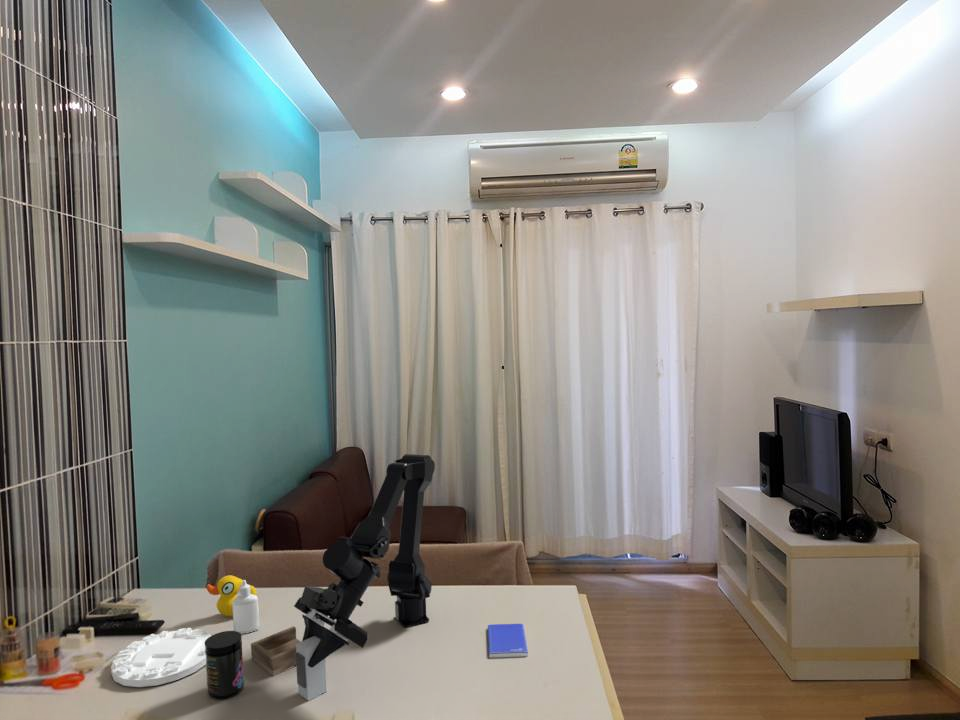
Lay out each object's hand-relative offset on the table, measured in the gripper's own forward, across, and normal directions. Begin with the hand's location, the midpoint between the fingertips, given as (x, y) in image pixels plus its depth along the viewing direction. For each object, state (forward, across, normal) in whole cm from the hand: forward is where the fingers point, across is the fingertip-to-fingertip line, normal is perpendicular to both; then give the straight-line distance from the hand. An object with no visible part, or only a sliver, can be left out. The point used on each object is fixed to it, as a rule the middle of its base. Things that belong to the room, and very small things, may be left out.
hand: (304, 662), depth 120 cm
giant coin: (+15, -34, -5) cm, 38 cm away
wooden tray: (+2, -16, +8) cm, 18 cm away
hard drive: (-23, +15, +34) cm, 44 cm away
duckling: (+1, -44, +9) cm, 45 cm away
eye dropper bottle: (+2, -34, +8) cm, 35 cm away
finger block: (+4, 0, +6) cm, 7 cm away
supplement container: (+12, -14, -2) cm, 18 cm away
